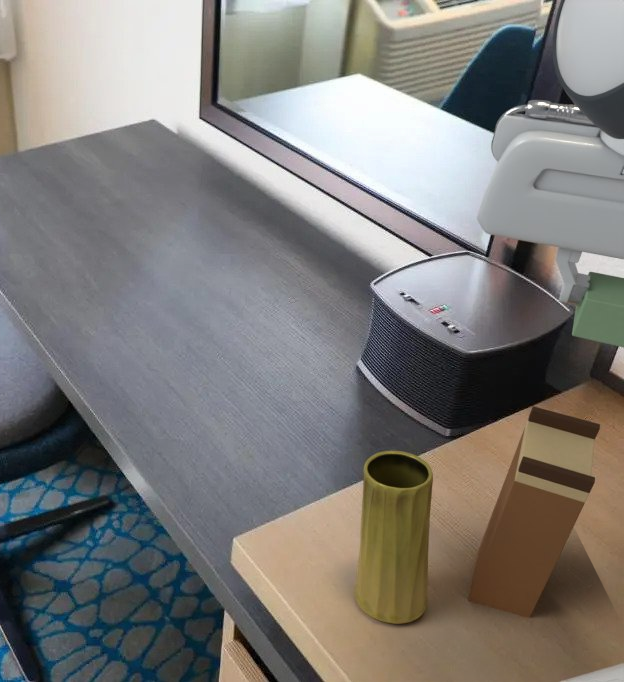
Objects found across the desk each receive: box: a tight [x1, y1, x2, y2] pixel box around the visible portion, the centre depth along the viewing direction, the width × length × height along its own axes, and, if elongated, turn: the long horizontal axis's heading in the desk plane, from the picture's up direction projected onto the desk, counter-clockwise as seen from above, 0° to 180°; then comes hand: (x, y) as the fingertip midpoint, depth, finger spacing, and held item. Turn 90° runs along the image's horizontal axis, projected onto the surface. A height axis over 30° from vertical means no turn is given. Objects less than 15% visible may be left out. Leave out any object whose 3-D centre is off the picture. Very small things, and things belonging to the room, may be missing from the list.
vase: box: [353, 450, 434, 625], centre depth 66 cm, size 6×6×14 cm
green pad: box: [571, 271, 624, 348], centre depth 55 cm, size 4×4×3 cm
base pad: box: [467, 405, 601, 619], centre depth 65 cm, size 7×5×18 cm
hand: (613, 309), depth 55 cm, fingers closed on green pad, 4 cm apart
